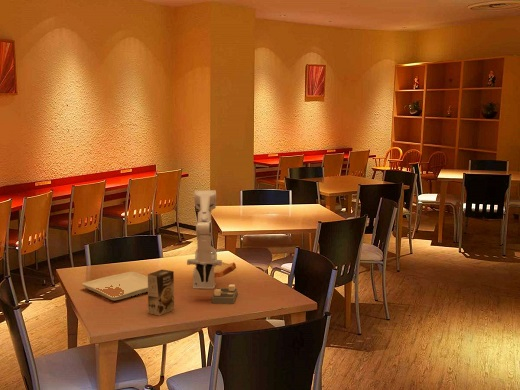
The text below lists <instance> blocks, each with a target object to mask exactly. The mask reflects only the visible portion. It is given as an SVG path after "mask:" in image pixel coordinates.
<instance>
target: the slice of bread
mask: <svg viewBox="0 0 520 390" xmlns="http://www.w3.org/2000/svg"><path fill="white" fill-rule="evenodd" d="M236 265H237V264H236V263H235V262H234V261H233V262H232V263H225V262H223V261H222V265H221V266H219V265H217V266H216V267H215V266H214V278H221V277H223V276H225V275H227V274H229V273H231V272H232V271H234V269H235V268H236Z"/></svg>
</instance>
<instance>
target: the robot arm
mask: <svg viewBox="0 0 520 390" xmlns="http://www.w3.org/2000/svg"><path fill="white" fill-rule="evenodd" d="M193 193H194V206H195V209H197V210H198V213H197V223H196V224H195V234H196V240H197V249H195V252H194V253H195V256H194V258H191V259H190V258H188V259H186V264H187V266H188V265H189V266H190V265H192V266H193V265H194V266H195V267H193V271H192V272H193V273H192V282H193V283H192V288H193V289H203V290H204V289H205V290H206V289H208V290H213V289H214V290H215V287H216V285H217V282H215V277H214V266H215V267H216V266H217V265H219V266H221V265H222V262H223V259H218V254H217V250H216V248H215V247H213V246H212V235H213V224H212V211H213V210H215V209H216V207H217V191H216V189H213V190H212V189H211V190H209V189H208V190H207V189H206V190H197V189H195V190H194V192H193Z"/></svg>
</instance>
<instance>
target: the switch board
mask: <svg viewBox="0 0 520 390" xmlns="http://www.w3.org/2000/svg"><path fill="white" fill-rule="evenodd" d="M216 289H221V295H220V296H214V294H212V297H211V304H222V305H223V304H227V305H228V304H229V305H231V304H232V305H233V304H234V303H235V301H236V299H237V295H238V288H237V287H235V290H234V291H229V287H217V288H216Z"/></svg>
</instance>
